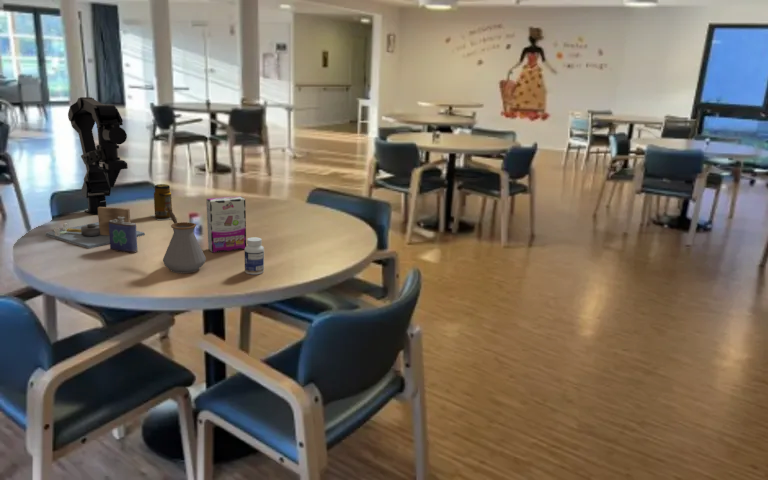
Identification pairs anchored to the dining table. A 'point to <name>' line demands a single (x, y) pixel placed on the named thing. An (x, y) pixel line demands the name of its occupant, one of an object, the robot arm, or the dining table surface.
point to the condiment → (162, 202)
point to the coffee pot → (183, 248)
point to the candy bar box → (226, 224)
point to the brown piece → (103, 221)
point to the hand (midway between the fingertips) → (111, 187)
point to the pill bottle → (254, 256)
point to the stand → (82, 237)
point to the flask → (123, 236)
